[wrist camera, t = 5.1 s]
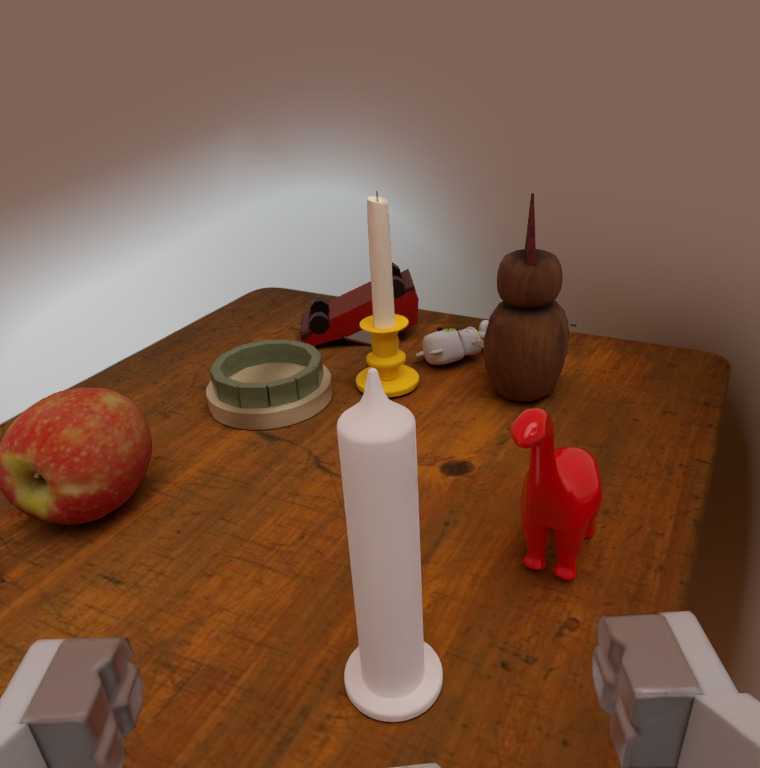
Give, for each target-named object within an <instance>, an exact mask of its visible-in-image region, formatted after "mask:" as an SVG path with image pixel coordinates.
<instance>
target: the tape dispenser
mask: <svg viewBox="0 0 760 768" xmlns="http://www.w3.org/2000/svg"><path fill="white" fill-rule="evenodd" d="M391 768H441V767H440V766H439V765H437V764H436V763H427V764H418V765H409V766H400V767H391Z"/></svg>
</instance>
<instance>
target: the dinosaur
mask: <svg viewBox="0 0 760 768" xmlns="http://www.w3.org/2000/svg"><path fill="white" fill-rule="evenodd" d="M510 434H511V437H512V439H513V440H514V442H515V443H516V444H517V445H518V446H519V447H521V448H530V462H529V470H528V471H527V474H526V476H525V479H524V483H523V488H522V494H521V502H520V507H521V519H522V527H523V532H524V535H525V539H526V543H527V554H526V556H525V557H524V560H523V563H524V565H525V566H526V567H528V568H530V569H533V570H542V569H544V568H545V567H546V560H545V550H546V546H547V543H548V539H549V536H550V532H551V529H552V530H554V537H555V543H556V547H557V554H558V562H557V564H556V566H555V567H554V574H555V575H556V576H557V577H559V578H561V579H564V580H573V579H575V578H576V577H577V570H576V561H577V558H578V555H579V552H580V549H581V547H582V544H583V541H584V538H585V537H586V538H587V537H591V536H592V535H593V534H594V529H595V516H596V515H597V513H598V512H599V509H600V506H601V501H602V485H601V476H600V470H599V467H598V464H597V462H596V460H595V458H594V457H593V455H592V454H591V453H590V452H588V451H587V450H585V449H582V448H579V447H573V446H568V447H562V448H558V449H556V450H555V449H554V427H553V422H552V419H551V417H550V415H549V414H548V413H547V412H546V411H545V410H543V409H540V408H529V409H526V410H524V411H523V412H522V413H521V414H520V415H519V416H518V417H517V418H516V419H515V421H514V422H513V424H512V425H511V428H510Z"/></svg>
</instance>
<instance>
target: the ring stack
mask: <svg viewBox="0 0 760 768" xmlns="http://www.w3.org/2000/svg"><path fill="white" fill-rule="evenodd" d="M210 375H211V381H210V382H209V384H208V386H207V389H206V396H207V401H208V406H209V410H210V413H211V414H212V416H213V417H214V418H215V419H216V420H217V421H219V422H220V423H222V424H224V425H227V426H230V427H233V428H238V429H246V430H267V429H275V428H281V427H286V426H290V425H293V424H296V423H299V422H302V421H304V420H307V419H309V418H311V417H313V416H314V415H316V414H318V413H319V412H320V411H322V410H323V409H324V408H325V407H326V406H327V405H328V403H329V402H330V400H331V398H332V394H333V389H332V379H331V373H330V371H329V370H328V368H327V367H326V366H325V365H323V363H322V356H321V354H320V353H319V351H318V350H317V349H316V348H315V347H314V346H313V345H312V346H311V344H307V343H303V342H299V341H295V340H292V341H291V340H266V342H265V341H264V340H262V341H258V342H253V343H249V344H244V345H240V347H239V346H237V347H235V348H233V349H232V350H230V351H228V352H226V353H224V354H222V355H220V357H218V358H217V359H216V360H215V362H214V363H213V364H212V366H211V367H210Z"/></svg>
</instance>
